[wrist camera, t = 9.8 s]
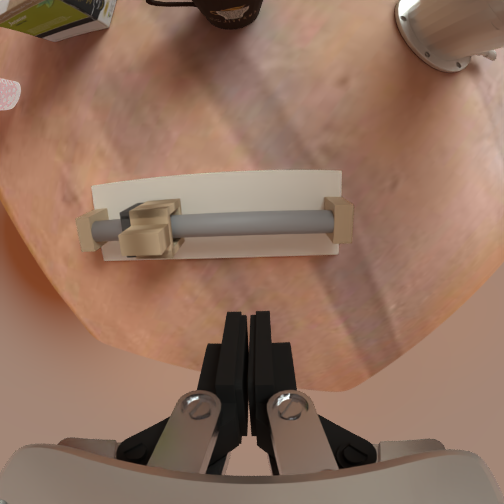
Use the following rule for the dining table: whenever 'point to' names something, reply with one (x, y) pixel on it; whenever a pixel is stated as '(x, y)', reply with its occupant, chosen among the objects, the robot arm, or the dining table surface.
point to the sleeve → (151, 230)
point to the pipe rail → (230, 201)
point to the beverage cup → (9, 94)
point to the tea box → (56, 17)
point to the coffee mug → (222, 11)
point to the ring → (127, 219)
